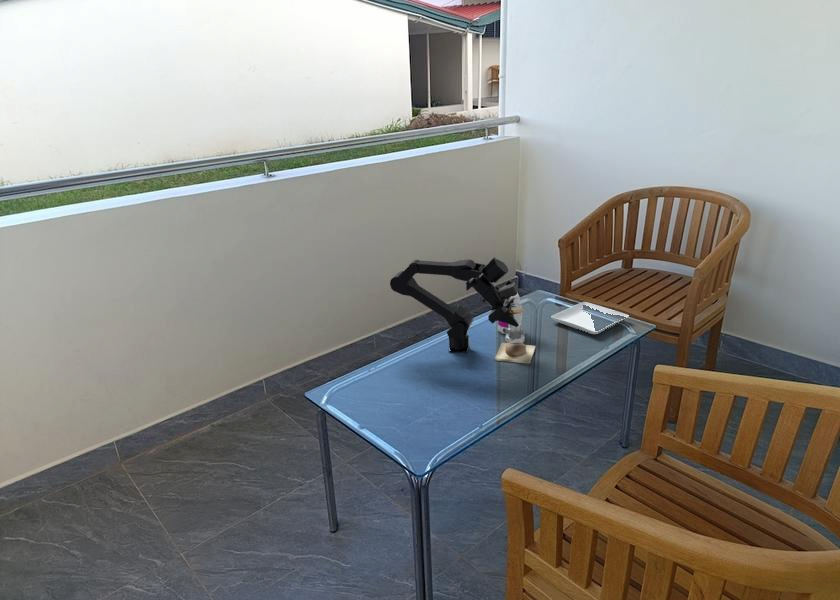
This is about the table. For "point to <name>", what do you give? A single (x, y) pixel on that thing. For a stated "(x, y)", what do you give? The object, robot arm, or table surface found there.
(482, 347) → the table surface
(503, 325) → the supplement can
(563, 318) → the salad plate
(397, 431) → the table surface
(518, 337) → the grey tall flared piece
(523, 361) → the beige square tile
